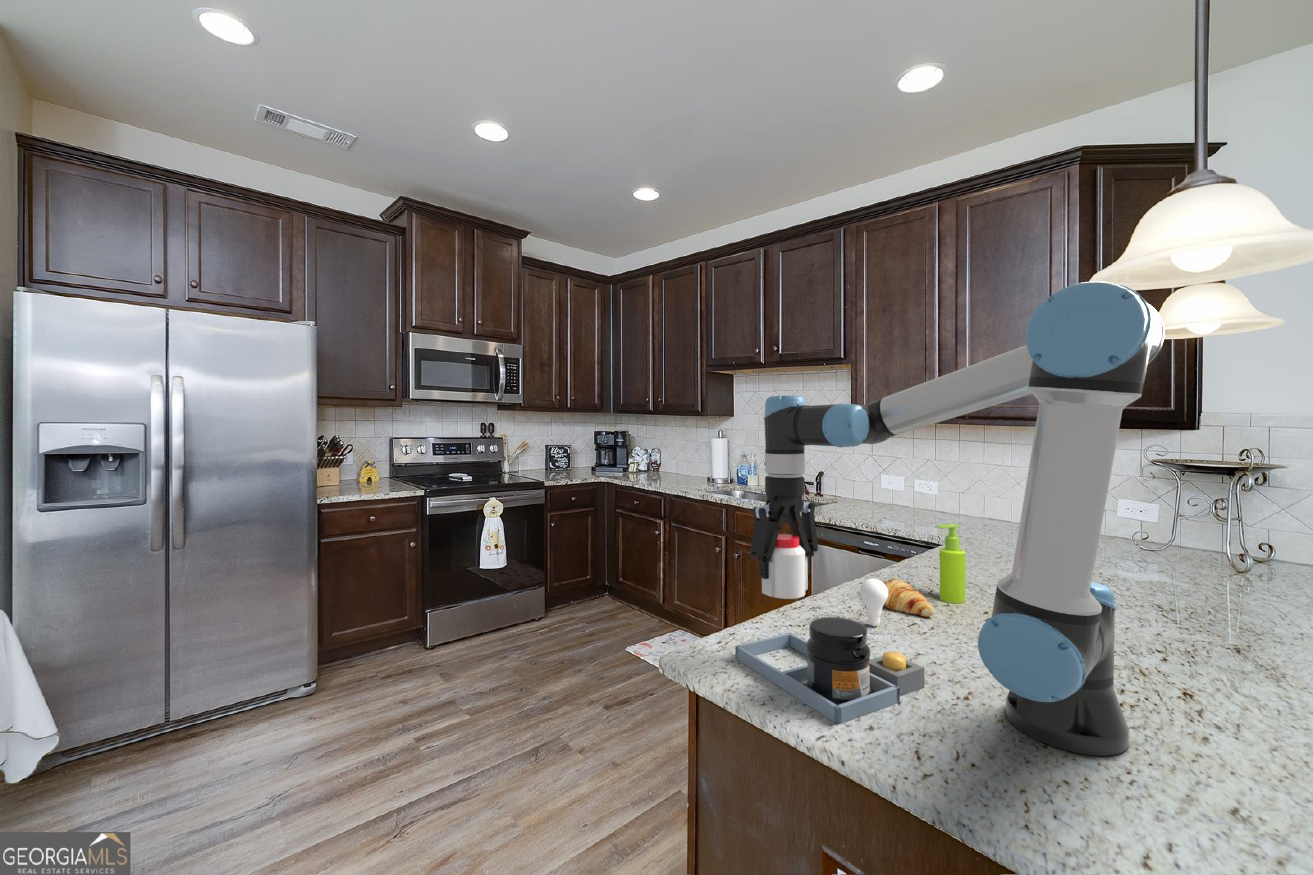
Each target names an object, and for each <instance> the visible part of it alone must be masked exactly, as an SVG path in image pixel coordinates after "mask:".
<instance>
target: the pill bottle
mask: <svg viewBox="0 0 1313 875" xmlns="http://www.w3.org/2000/svg"><path fill="white" fill-rule="evenodd" d="M770 561H771V562H774V596H773V598H776V599H783V600H784V599H785V600H791V599H792V600H796V599H801V598H803V597H805V595H806V590H805V550H804V549H803V548H802V547H801V546H800V545H799V537H798V536H795V535H793V534H789V533H779V534H778V538H777V541H776V544H775V547H774V550H773V554H772V557H771V560H770Z"/></svg>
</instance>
